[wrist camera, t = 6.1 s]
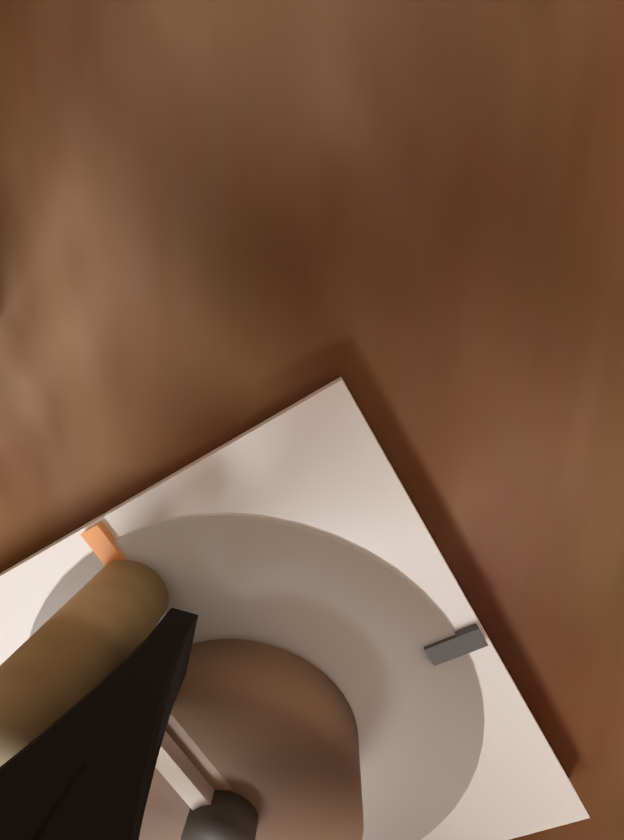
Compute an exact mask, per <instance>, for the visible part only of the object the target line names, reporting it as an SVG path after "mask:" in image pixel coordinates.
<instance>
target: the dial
mask: <svg viewBox="0 0 624 840" xmlns="http://www.w3.org/2000/svg"><path fill="white" fill-rule="evenodd" d="M168 602H169V595H168V590H167V587H166V585H165V583H164V581H163V580H162V578H161V577H160V576H159V575H158V574H157V573H156V572H155V571H154V570H153V569H151V568H150V567H148V566H146V565H144V564H142V563H140V562H137V561H132V560H118V561H114V562H111V563H109V564H107V565H106V566H104V567H103V568H102V569H101V570H100V571H99V572H98V573H97V574H96V575H95V576H94V577H93V578H92V579H91V580H90V581H88V582H87V583H86V584H85V585H84V586H83V587H82V588H81V589H80V590H79V591H78V592H77V593H76V594H75V595H74V596H73V597H72V598H71V599H70V600H69V601H67V602H66V603H65V604H64V605H63V606H62V607H61V608H60V609H59V610H58V611H57V612H56V613H55V614H54V615H53V616H52V617H51V618H50V619H49V620H48V621H46V622H45V623H44V624H43V625H42V626H41V627H40V628H39V629H38V630H37V631H36V632H35V633H34V634H33V635H32V636H31V637H30V638H29V639H28V640H26V641H25V642H24V643H23V644H22V645H21V646H20V647H19V648H18V649H17V650H16V651H15V652H14V653H13V654H12V655H11V656H10V657H9V658H8V659H7V660H5V661H4V662H3V663H2V664H1V665H0V767H1V766H2V765H3V764H4V763H6V762H7V761H8V760H9V759H11V758H12V757H13V756H14V755H16V754H17V753H18V752H19V751H20V750H22V749H23V748H24V747H25V746H27V745H28V744H29V743H30V742H31V741H33V740H34V739H35V738H36V737H37V736H39V735H40V734H41V733H42V732H43V731H45V730H46V729H47V728H48V727H49V726H50V725H52V724H53V723H54V722H55V721H56V720H57V719H59V718H60V717H61V716H62V715H63V714H64V713H66V712H67V711H68V710H69V709H70V708H71V707H72V706H74V705H75V704H76V703H77V702H78V701H79V700H81V699H82V698H83V697H84V696H85V695H86V694H87V693H89V692H90V691H91V690H92V689H93V688H94V687H95V686H96V685H97V684H98V683H100V682H101V681H102V680H103V679H104V678H105V677H106V676H107V675H108V674H109V673H110V672H111V671H112V670H114V669H115V668H116V667H117V666H118V665H119V664H120V663H121V662H122V661H123V660H124V659H125V658H126V657H127V656H128V655H129V654H131V653H132V652H133V651H134V650H135V649H136V648H137V647H138V646H139V645H140V644H141V643H142V642H143V641H144V640H145V639H146V638H147V637H148V636H149V635H150V634H151V632H152V631H153V630H154V628H155V627H156V625H157V624H158V622H159V621H160V619H161V618H162V616H163V614H164V613H165V611H166V609H167V607H168ZM363 831H364V821H363V803H362V788H361V772H360V756H359V740H358V728H357V724H356V719H355V716H354V714H353V711H352V709H351V706H350V705H349V703H348V701H347V700H346V698H345V696H344V695H343V693H342V692H341V691H340V689H339V688H338V687H337V686H336V684H335V683H334V682H333V681H332V680H331V679H330V678H329V677H328V676H327V675H326V674H324V673H323V672H322V671H321V670H319V669H318V668H317V667H315V666H314V665H313V664H311V663H309V662H308V661H306V660H304V659H303V658H301V657H299V656H297V655H295V654H293V653H291V652H289V651H287V650H284V649H281V648H278V647H275V646H272V645H269V644H265V643H261V642H256V641H251V640H242V639H216V640H207V641H202V642H198V643H194V644H192V648H191V653H190V658H189V662H188V667H187V672H186V675H185V678H184V680H183V683H182V685H181V688H180V690H179V693H178V695H177V697H176V700H175V702H174V705H173V708H172V711H171V714H170V717H169V720H168V724H167V727H166V730H165V734H164V737H163V741H162V744H161V748H160V751H159V755H158V759H157V763H156V767H155V771H154V775H153V779H152V783H151V787H150V791H149V795H148V799H147V803H146V807H145V812H144V816H143V821H142V825H141V830H140V836H139V840H362V838H363Z"/></svg>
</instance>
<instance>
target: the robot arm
mask: <svg viewBox="0 0 624 840" xmlns="http://www.w3.org/2000/svg"><path fill="white" fill-rule="evenodd" d="M197 619H198V615H197V614H193V613H190V612H186V611H182V610H179V609H175V608H171V609H170V610H169V611H168V612H167V613H166V615H165V616H164V617H163V618H162V619H161V621H160V622H159V623H158V624H157V626H156V627H155V628H154V630H153V631H152V632H151V634H150V635H149V636H148V637H147V638H146V639H145V640H144V641H143V642H142V643H141V644H140V645H139V646H138V647H137V648H136V649H135V650H134V651H133V652H132V653H131V654H129V655H128V656H127V657H126V658H125V659H124V660H123V661H122V662H121V663H120V664H119V665H118V666H117V667H116V668H115V669H114V670H112V671H111V672H110V673H109V674H108V675H107V676H106V677H105V678H104V679H103V680H102V681H101V682H100V683H98V684H97V685H96V686H95V687H94V688H93V689H92V690H91V691H90V692H89V693H87V694H86V695H85V696H84V697H83V698H82V699H81V700H79V701H78V702H77V703H76V704H75V705H74V706H72V707H71V708H70V709H69V710H68V711H67V712H66V713H64V714H63V715H62V716H61V717H60V718H59V719H57V720H56V721H55V722H54V723H53V724H52V725H50V726H49V727H48V728H47V729H46V730H45V731H43V732H42V733H41V734H40V735H39V736H37V737H36V738H35V739H34V740H33V741H31V742H30V743H29V744H28V745H27V746H25V747H24V748H23V749H22V750H20V751H19V752H18V753H17V754H16V755H14V756H13V757H12V758H11V759H9V760H8V761H7V762H6V763H4V764H3V765H2V766H1V767H0V840H139V836H140V830H141V825H142V821H143V816H144V812H145V807H146V803H147V799H148V795H149V791H150V787H151V783H152V779H153V775H154V771H155V767H156V763H157V759H158V755H159V751H160V748H161V744H162V741H163V737H164V734H165V730H166V727H167V724H168V720H169V717H170V714H171V711H172V708H173V705H174V702H175V700H176V697H177V695H178V693H179V690H180V688H181V685H182V683H183V680H184V678H185V675H186V672H187V667H188V662H189V658H190V653H191V648H192V643H193V638H194V634H195V629H196V624H197Z"/></svg>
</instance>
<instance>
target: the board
mask: <svg viewBox="0 0 624 840" xmlns="http://www.w3.org/2000/svg"><path fill="white" fill-rule="evenodd" d="M118 560H132V561H137V562H140V563H142V564H144V565H146V566H148V567H150V568H151V569H153V570H154V571H155V572H156V573H157V574H158V575H159V576H160V577H161V578H162V580H163V581H164V583H165V585H166V587H167V590H168V595H169V602H168V607H167V609H166V611H165V613H164V614H163V616H162V618H163V617H164V616H165V615H166V613H167V612H168V611H169V610H170V609H171V608H175V609H179V610H182V611H186V612H190V613H193V614H197V615H198V619H197V624H196V629H195V634H194V638H193V643H192V644H194V643H198V642H202V641H207V640H216V639H242V640H251V641H256V642H261V643H265V644H269V645H272V646H275V647H278V648H281V649H284V650H287V651H289V652H291V653H293V654H295V655H297V656H299V657H301V658H303V659H304V660H306V661H308V662H309V663H311V664H313V665H314V666H315V667H317V668H318V669H319V670H321V671H322V672H323V673H324V674H326V675H327V676H328V677H329V678H330V679H331V680H332V681H333V682H334V683H335V684H336V686H337V687H338V688H339V689H340V691H341V692H342V693H343V695H344V696H345V698H346V700H347V701H348V703H349V705H350V706H351V709H352V711H353V714H354V716H355V719H356V724H357V728H358V740H359V756H360V772H361V788H362V803H363V821H364V831H363V838H362V840H510V839H513V838H517V837H521V836H525V835H528V834H532V833H536V832H540V831H543V830H547V829H551V828H554V827H558V826H562V825H566V824H569V823H573V822H577V821H581V820H584V819H588V818H590V817H589V815H588V813H587V811H586V809H585V808H584V806H583V804H582V802H581V800H580V798H579V797H578V795H577V793H576V791H575V789H574V787H573V786H572V784H571V782H570V780H569V778H568V777H567V775H566V773H565V771H564V769H563V768H562V766H561V764H560V762H559V761H558V759H557V757H556V755H555V754H554V752H553V750H552V748H551V747H550V745H549V743H548V741H547V739H546V738H545V736H544V734H543V732H542V731H541V729H540V727H539V725H538V724H537V722H536V720H535V718H534V716H533V715H532V713H531V711H530V709H529V708H528V706H527V704H526V702H525V701H524V699H523V697H522V695H521V694H520V692H519V690H518V688H517V686H516V685H515V683H514V681H513V679H512V678H511V676H510V674H509V672H508V671H507V669H506V667H505V665H504V663H503V662H502V660H501V658H500V656H499V655H498V653H497V651H496V649H495V648H494V646H493V644H492V642H491V641H490V639H489V637H488V635H487V633H486V632H485V630H484V628H483V626H482V625H481V623H480V621H479V619H478V618H477V616H476V614H475V612H474V610H473V609H472V607H471V605H470V603H469V602H468V600H467V598H466V596H465V595H464V593H463V591H462V589H461V587H460V586H459V584H458V582H457V580H456V579H455V577H454V575H453V573H452V572H451V570H450V568H449V566H448V565H447V563H446V561H445V559H444V557H443V556H442V554H441V552H440V550H439V549H438V547H437V545H436V543H435V542H434V540H433V538H432V536H431V534H430V533H429V531H428V529H427V527H426V526H425V524H424V522H423V520H422V519H421V517H420V515H419V513H418V512H417V510H416V508H415V506H414V504H413V503H412V501H411V499H410V497H409V496H408V494H407V492H406V490H405V489H404V487H403V485H402V483H401V481H400V480H399V478H398V476H397V474H396V473H395V471H394V469H393V467H392V466H391V464H390V462H389V460H388V459H387V457H386V455H385V453H384V451H383V450H382V448H381V446H380V444H379V443H378V441H377V439H376V437H375V436H374V434H373V432H372V430H371V428H370V427H369V425H368V423H367V421H366V420H365V418H364V416H363V414H362V413H361V411H360V409H359V407H358V406H357V404H356V402H355V400H354V398H353V397H352V395H351V393H350V391H349V390H348V388H347V386H346V384H345V383H344V381H343V379H342V377H339V378H337V379H336V380H334V381H332V382H330V383H329V384H327V385H325V386H323V387H322V388H320V389H318V390H316V391H315V392H313V393H311V394H310V395H308V396H306V397H304V398H303V399H301V400H299V401H297V402H296V403H294V404H292V405H291V406H289V407H287V408H285V409H284V410H282V411H280V412H278V413H277V414H275V415H273V416H271V417H270V418H268V419H266V420H265V421H263V422H261V423H259V424H258V425H256V426H254V427H252V428H251V429H249V430H247V431H246V432H244V433H242V434H240V435H239V436H237V437H235V438H233V439H232V440H230V441H228V442H226V443H225V444H223V445H221V446H220V447H218V448H216V449H214V450H213V451H211V452H209V453H207V454H206V455H204V456H202V457H201V458H199V459H197V460H195V461H194V462H192V463H190V464H188V465H187V466H185V467H183V468H181V469H180V470H178V471H176V472H175V473H173V474H171V475H169V476H168V477H166V478H164V479H162V480H161V481H159V482H157V483H155V484H154V485H152V486H150V487H149V488H147V489H145V490H143V491H142V492H140V493H138V494H136V495H135V496H133V497H131V498H130V499H128V500H126V501H124V502H123V503H121V504H119V505H117V506H116V507H114V508H112V509H110V510H109V511H107V512H105V513H104V514H102V515H100V516H98V517H97V518H95V519H93V520H91V521H90V522H88V523H86V524H85V525H83V526H81V527H79V528H78V529H76V530H74V531H72V532H71V533H69V534H67V535H65V536H64V537H62V538H60V539H59V540H57V541H55V542H53V543H52V544H50V545H48V546H46V547H45V548H43V549H41V550H40V551H38V552H36V553H34V554H33V555H31V556H29V557H27V558H26V559H24V560H22V561H20V562H19V563H17V564H15V565H14V566H12V567H10V568H8V569H7V570H5V571H3V572H1V573H0V665H1V664H2V663H3V662H4V661H5V660H7V659H8V658H9V657H10V656H11V655H12V654H13V653H14V652H15V651H16V650H17V649H18V648H19V647H20V646H21V645H22V644H23V643H24V642H25V641H26V640H28V639H29V638H30V637H31V636H32V635H33V634H34V633H35V632H36V631H37V630H38V629H39V628H40V627H41V626H42V625H43V624H44V623H45V622H46V621H48V620H49V619H50V618H51V617H52V616H53V615H54V614H55V613H56V612H57V611H58V610H59V609H60V608H61V607H62V606H63V605H64V604H65V603H66V602H67V601H69V600H70V599H71V598H72V597H73V596H74V595H75V594H76V593H77V592H78V591H79V590H80V589H81V588H82V587H83V586H84V585H85V584H86V583H87V582H88V581H90V580H91V579H92V578H93V577H94V576H95V575H96V574H97V573H98V572H99V571H100V570H101V569H102V568H103V567H104V566H106V565H107V564H109V563H111V562H114V561H118ZM162 618H161V619H162ZM161 619H160V621H161ZM160 621H159V622H160ZM159 622H158V623H159ZM156 626H157V625H156Z"/></svg>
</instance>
